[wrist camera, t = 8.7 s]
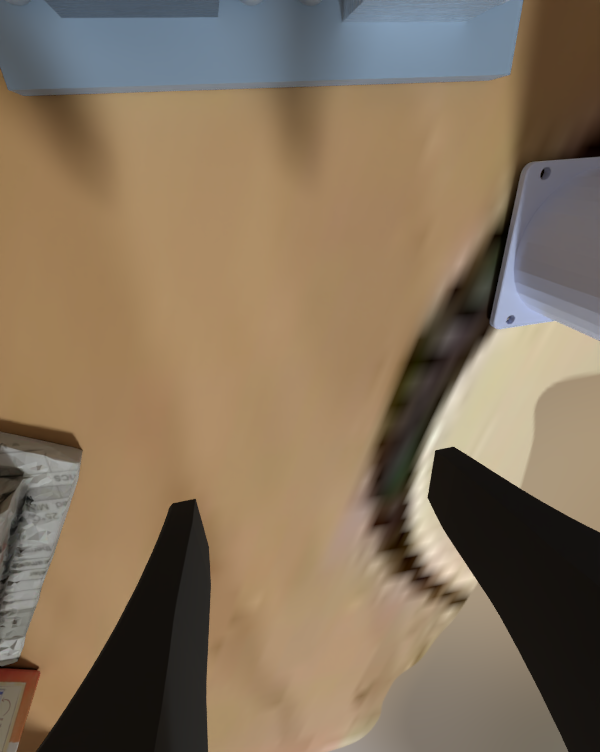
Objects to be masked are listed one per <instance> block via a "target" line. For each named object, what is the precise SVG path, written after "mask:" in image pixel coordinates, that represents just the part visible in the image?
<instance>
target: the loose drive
mask: <svg viewBox="0 0 600 752" xmlns="http://www.w3.org/2000/svg"><path fill="white" fill-rule="evenodd" d="M44 1H45V2H46V3H47V4H48V5H49V6H50V7H51V8H52V9H53V10H54V11H55V12H56V13H57V14H58V15H59V16H60V17H61V18H187V17H218V10H219V0H44Z"/></svg>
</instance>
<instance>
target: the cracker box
mask: <svg viewBox="0 0 600 752" xmlns="http://www.w3.org/2000/svg"><path fill="white" fill-rule="evenodd" d="M39 676H40V671H37V670H25V669H8V668H0V752H16V751H17V748H18V745H19V742H20V738H21V735H22V732H23V729H24V725H25V722H26V719H27V716H28V713H29V710H30V706H31V703H32V700H33V696H34V693H35V690H36V687H37V683H38V680H39Z"/></svg>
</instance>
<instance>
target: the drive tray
mask: <svg viewBox="0 0 600 752" xmlns="http://www.w3.org/2000/svg"><path fill="white" fill-rule="evenodd" d="M522 4H523V0H506V1H504V2H502V3H500V4H498V5H497V6H495V7H493V8H491V9H489V10H487V11H485V12H484V13H482V14H480V15H478V16H476V17H474V18H472V19H470V20H469V21H467V22H343V23H342V0H219V10H218V17H187V18H61V17H60V16H59V15H58V14H57V13H56V12H55V11H54V10H53V9H52V8H51V7H50V6H49V5H48V4H47V3H46V2H45V1H44V0H0V68H1V71H2V73H3V76H4V79H5V82H6V85H7V88H8V90H9V91H12V92H15V93H18V94H20V95H23V96H39V95H68V94H98V93H128V92H158V91H188V90H218V89H248V88H278V87H308V86H338V85H368V84H398V83H428V82H458V81H488V80H493V79H496V78H500V77H503V76H507V75H510V72H511V67H512V61H513V55H514V50H515V44H516V38H517V33H518V27H519V21H520V16H521V10H522Z"/></svg>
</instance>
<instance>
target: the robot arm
mask: <svg viewBox="0 0 600 752" xmlns="http://www.w3.org/2000/svg"><path fill="white" fill-rule="evenodd" d="M543 169H544V174H543V177H542V178H540V174H541V172H542V170H543ZM509 316H510V318H509V319H508V320H507V318H508V317H509ZM506 320H507V321H506ZM551 321H557V322H559V323H561V324H563V325H566V326H568V327H570V328H572V329H574V330H577V331H579V332H581V333H583V334H585V335H588V336H590V337H592V338H594V339H596V340H599V341H600V157H589V158H575V159H562V160H548V161H534V162H530V163H528V164H527V165H526V166H525V167H524V168H523V170H522V172H521V175H520V180H519V184H518V189H517V194H516V199H515V203H514V208H513V213H512V218H511V223H510V227H509V232H508V237H507V242H506V246H505V251H504V256H503V261H502V265H501V270H500V275H499V280H498V284H497V289H496V294H495V299H494V303H493V308H492V313H491V318H490V324H491V326H493V327H494V328H496V329H504V328H511V327H517V326H524V325H531V324H537V323H544V322H551ZM428 499H429V501H430V503H431V506H432V508H433V510H434V512H435V514H436V516H437V518H438V520H439V522H440V524H441V525H442V527H443V529H444V531H445V532H446V534H447V535H448V537H449V539H450V540H451V542H452V543H453V545H454V546H455V548H456V549H457V551H458V552H459V554H460V555H461V557H462V558H463V560H464V561H465V563H466V564H467V566H468V567H469V569H470V570H471V572H472V573H473V575H474V576H475V578H476V579H477V581H478V582H479V584H480V585H481V587H482V588H483V590H484V591H485V593H486V594H487V596H488V597H489V599H490V601H491V602H492V603H493V605H494V607H495V609H496V610H497V612H498V614H499V615H500V617H501V619H502V621H503V623H504V624H505V626H506V628H507V630H508V632H509V634H510V635H511V637H512V639H513V641H514V643H515V645H516V646H517V648H518V650H519V652H520V654H521V656H522V658H523V660H524V662H525V663H526V666H527V668H528V669H529V671H530V673H531V675H532V677H533V679H534V681H535V683H536V685H537V687H538V689H539V691H540V693H541V695H542V697H543V699H544V701H545V703H546V705H547V707H548V709H549V711H550V713H551V715H552V718H553V720H554V722H555V724H556V726H557V728H558V730H559V732H560V734H561V736H562V738H563V741H564V743H565V745H566V747H567V749H568V752H600V532H598V531H596V530H593V529H592V528H590V527H587V526H586V525H584V524H582V523H580V522H578V521H576V520H574V519H572V518H570V517H568V516H567V515H565V514H563V513H561V512H559V511H558V510H556V509H554V508H552V507H550V506H549V505H547V504H545V503H543V502H541V501H540V500H538V499H536V498H535V497H533V496H531V495H530V494H528V493H526V492H525V491H523V490H522V489H520V488H518V487H517V486H515V485H513V484H512V483H510V482H509V481H507V480H505V479H504V478H502V477H501V476H499V475H498V474H496V473H494V472H493V471H491V470H490V469H488V468H487V467H485V466H483V465H482V464H480V463H479V462H477V461H476V460H474V459H473V458H471V457H469V456H468V455H466V454H465V453H463V452H461V451H460V450H458V449H456V448H455V447H450V448H445V449H440V450H435V456H434V462H433V468H432V474H431V480H430V487H429V493H428ZM210 590H211V579H210V560H209V546H208V542H207V539H206V535H205V531H204V528H203V524H202V520H201V517H200V513H199V510H198V506H197V502H196V499H193V500H188V501H183V502H178V503H173V504H172V505H171V506H170V508H169V511H168V514H167V516H166V519H165V522H164V525H163V527H162V530H161V532H160V535H159V537H158V540H157V542H156V545H155V547H154V549H153V552H152V554H151V556H150V558H149V561H148V563H147V565H146V567H145V569H144V571H143V574H142V576H141V578H140V580H139V582H138V584H137V586H136V588H135V590H134V592H133V594H132V596H131V598H130V600H129V602H128V604H127V606H126V608H125V610H124V612H123V614H122V615H121V617H120V619H119V621H118V623H117V625H116V627H115V628H114V630H113V632H112V634H111V636H110V637H109V639H108V641H107V643H106V644H105V646H104V648H103V650H102V651H101V653H100V655H99V656H98V658H97V660H96V661H95V663H94V665H93V666H92V668H91V670H90V671H89V673H88V675H87V676H86V678H85V679H84V681H83V682H82V684H81V685H80V687H79V689H78V690H77V692H76V693H75V695H74V696H73V698H72V699H71V701H70V703H69V704H68V706H67V707H66V709H65V710H64V712H63V713H62V715H61V716H60V718H59V719H58V721H57V722H56V724H55V725H54V727H53V728H52V730H51V731H50V733H49V734H48V736H47V737H46V738H45V740H44V741H43V743H42V744H41V745H40V747H39V748H38V750H37V751H36V752H208V738H207V708H206V676H207V655H208V634H209V613H210Z"/></svg>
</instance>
